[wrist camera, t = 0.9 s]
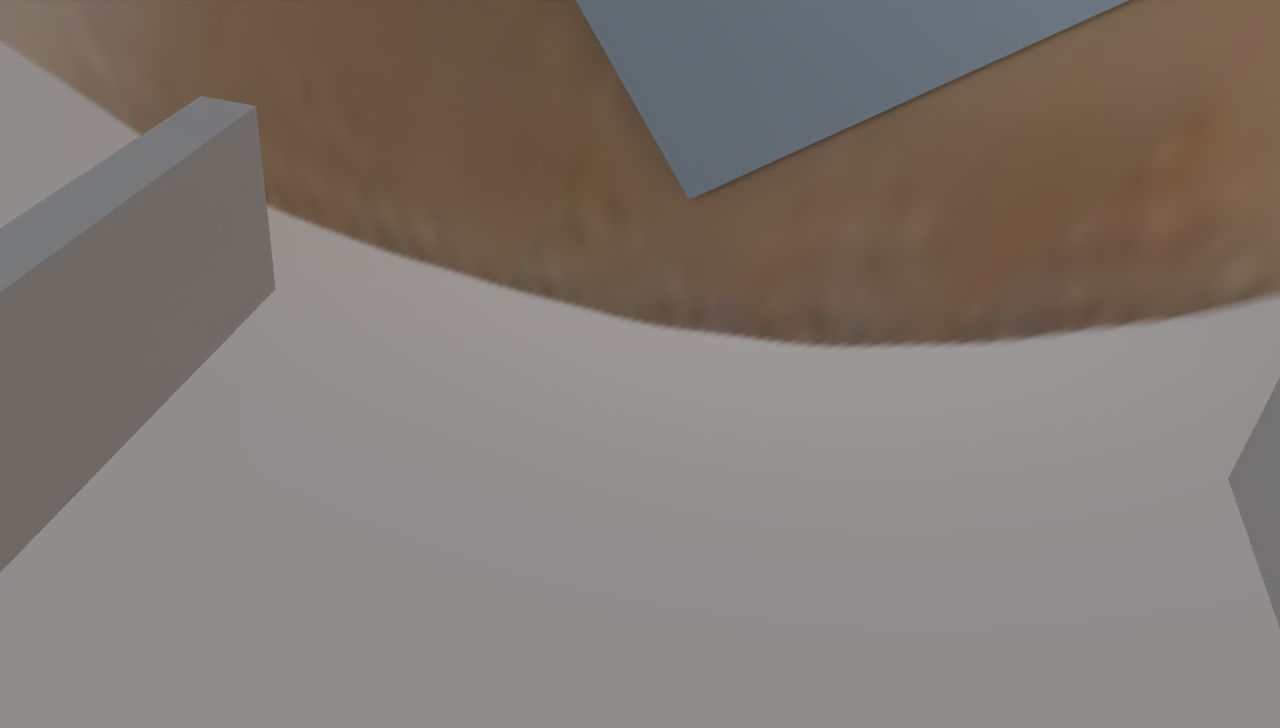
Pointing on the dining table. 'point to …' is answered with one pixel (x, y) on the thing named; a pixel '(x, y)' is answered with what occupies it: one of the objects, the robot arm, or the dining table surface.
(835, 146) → the dining table surface
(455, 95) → the dining table surface
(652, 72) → the gear board
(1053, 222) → the dining table surface
